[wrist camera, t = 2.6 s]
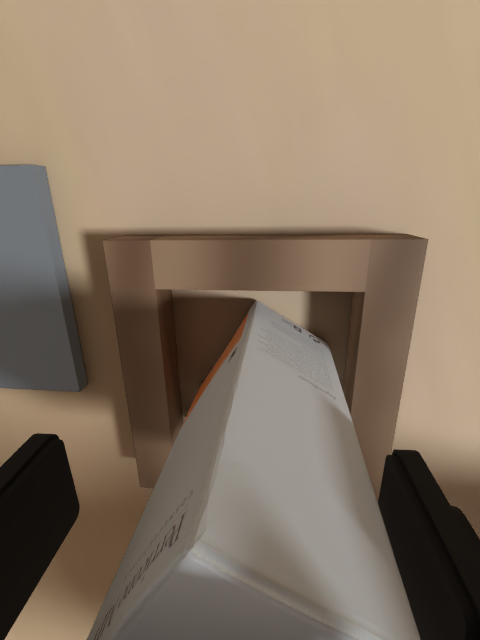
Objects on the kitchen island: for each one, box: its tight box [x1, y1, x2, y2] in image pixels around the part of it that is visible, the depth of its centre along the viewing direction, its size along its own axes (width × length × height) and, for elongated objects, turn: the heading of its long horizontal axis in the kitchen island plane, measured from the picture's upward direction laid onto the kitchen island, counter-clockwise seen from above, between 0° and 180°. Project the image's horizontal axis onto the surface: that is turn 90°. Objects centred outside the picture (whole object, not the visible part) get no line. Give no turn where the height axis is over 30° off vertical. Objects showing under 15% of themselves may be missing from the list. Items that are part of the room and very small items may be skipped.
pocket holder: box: [103, 234, 428, 502], centre depth 16 cm, size 12×13×2 cm
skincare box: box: [87, 301, 421, 640], centre depth 11 cm, size 6×4×12 cm
